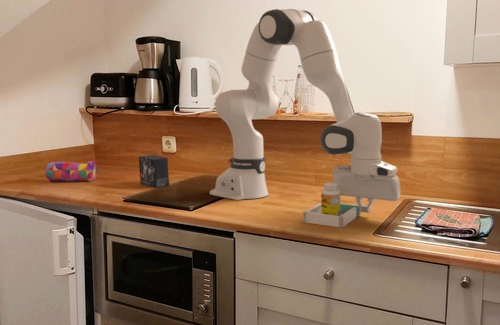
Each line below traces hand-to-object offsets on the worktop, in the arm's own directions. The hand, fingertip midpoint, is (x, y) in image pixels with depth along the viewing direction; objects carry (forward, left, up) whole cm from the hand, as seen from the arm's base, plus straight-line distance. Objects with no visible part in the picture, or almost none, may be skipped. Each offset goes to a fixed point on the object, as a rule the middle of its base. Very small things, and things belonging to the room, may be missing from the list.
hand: (364, 211), depth 141 cm
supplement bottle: (-8, -8, -1) cm, 11 cm away
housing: (-8, -8, -2) cm, 11 cm away
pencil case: (-133, -3, -2) cm, 133 cm away
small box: (-93, +7, -2) cm, 93 cm away
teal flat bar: (-7, 0, -2) cm, 7 cm away
